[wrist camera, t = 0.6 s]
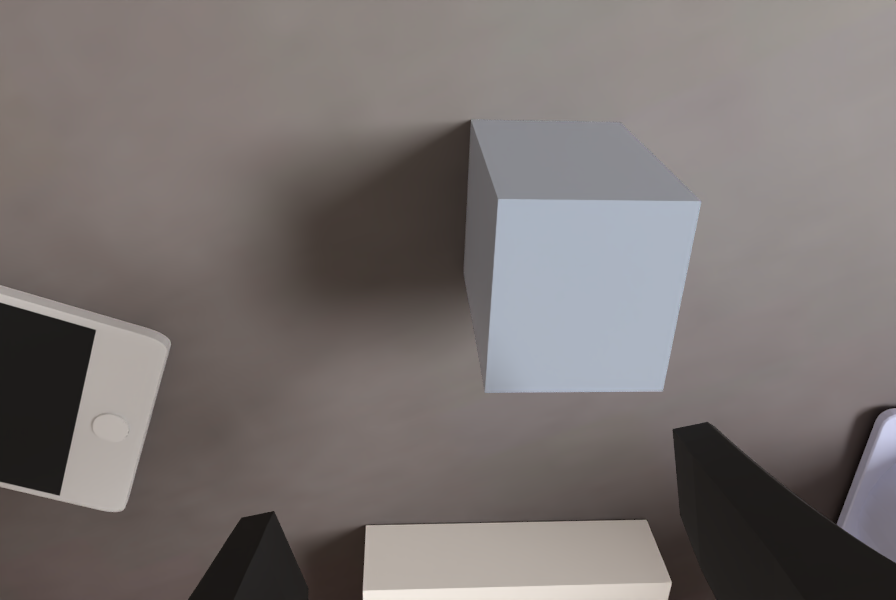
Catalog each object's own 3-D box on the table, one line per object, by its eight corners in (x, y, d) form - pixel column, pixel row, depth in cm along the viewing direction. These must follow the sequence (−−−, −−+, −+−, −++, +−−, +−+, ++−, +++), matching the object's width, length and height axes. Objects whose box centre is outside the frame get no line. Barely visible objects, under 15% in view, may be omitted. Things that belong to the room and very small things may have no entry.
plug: (620, 122, 20) (701, 201, 15) (598, 273, 22) (662, 391, 17) (471, 119, 20) (498, 199, 14) (463, 273, 22) (484, 392, 16)
